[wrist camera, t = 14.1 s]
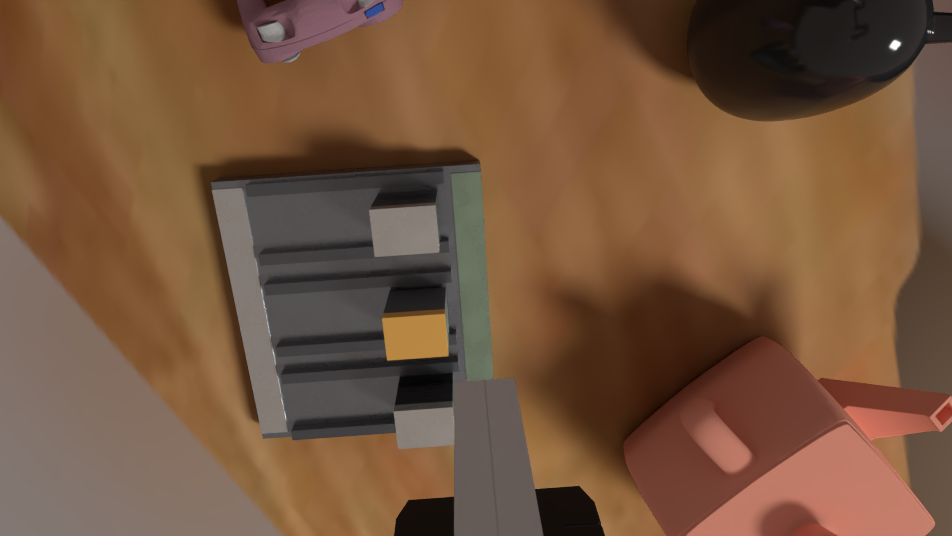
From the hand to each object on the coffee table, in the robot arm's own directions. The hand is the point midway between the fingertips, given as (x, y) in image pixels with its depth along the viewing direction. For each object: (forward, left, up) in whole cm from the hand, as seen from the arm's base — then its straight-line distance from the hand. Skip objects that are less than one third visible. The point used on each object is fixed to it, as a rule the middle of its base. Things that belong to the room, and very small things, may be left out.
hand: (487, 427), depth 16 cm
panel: (+8, -8, -29) cm, 32 cm away
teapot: (+20, +22, -30) cm, 42 cm away
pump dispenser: (-9, +19, -30) cm, 36 cm away
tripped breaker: (+8, -4, -28) cm, 29 cm away
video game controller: (-13, -8, -30) cm, 33 cm away
